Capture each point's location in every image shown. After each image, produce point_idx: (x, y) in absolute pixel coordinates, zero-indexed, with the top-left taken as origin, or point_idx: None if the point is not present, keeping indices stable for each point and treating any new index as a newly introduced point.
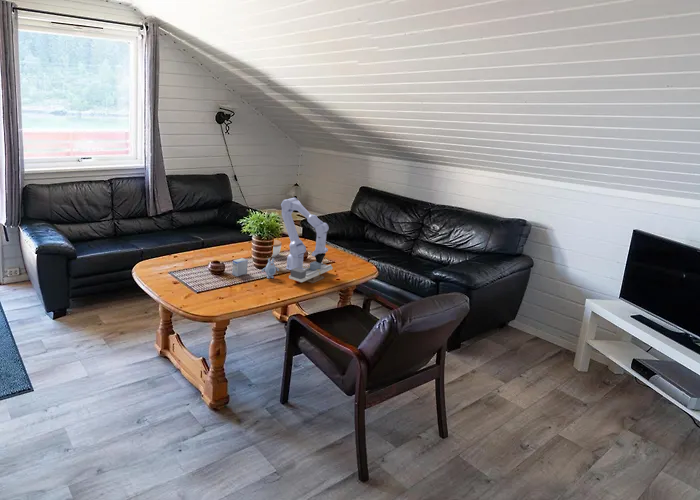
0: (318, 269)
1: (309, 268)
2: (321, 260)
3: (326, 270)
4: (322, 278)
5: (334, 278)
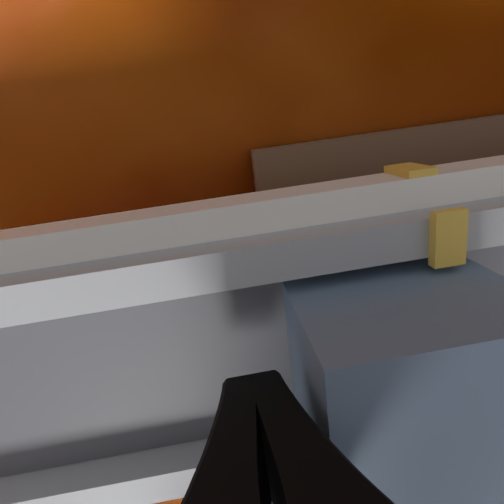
0: (438, 239)
1: None
2: (259, 478)
3: (146, 213)
4: (305, 143)
5: (99, 18)
